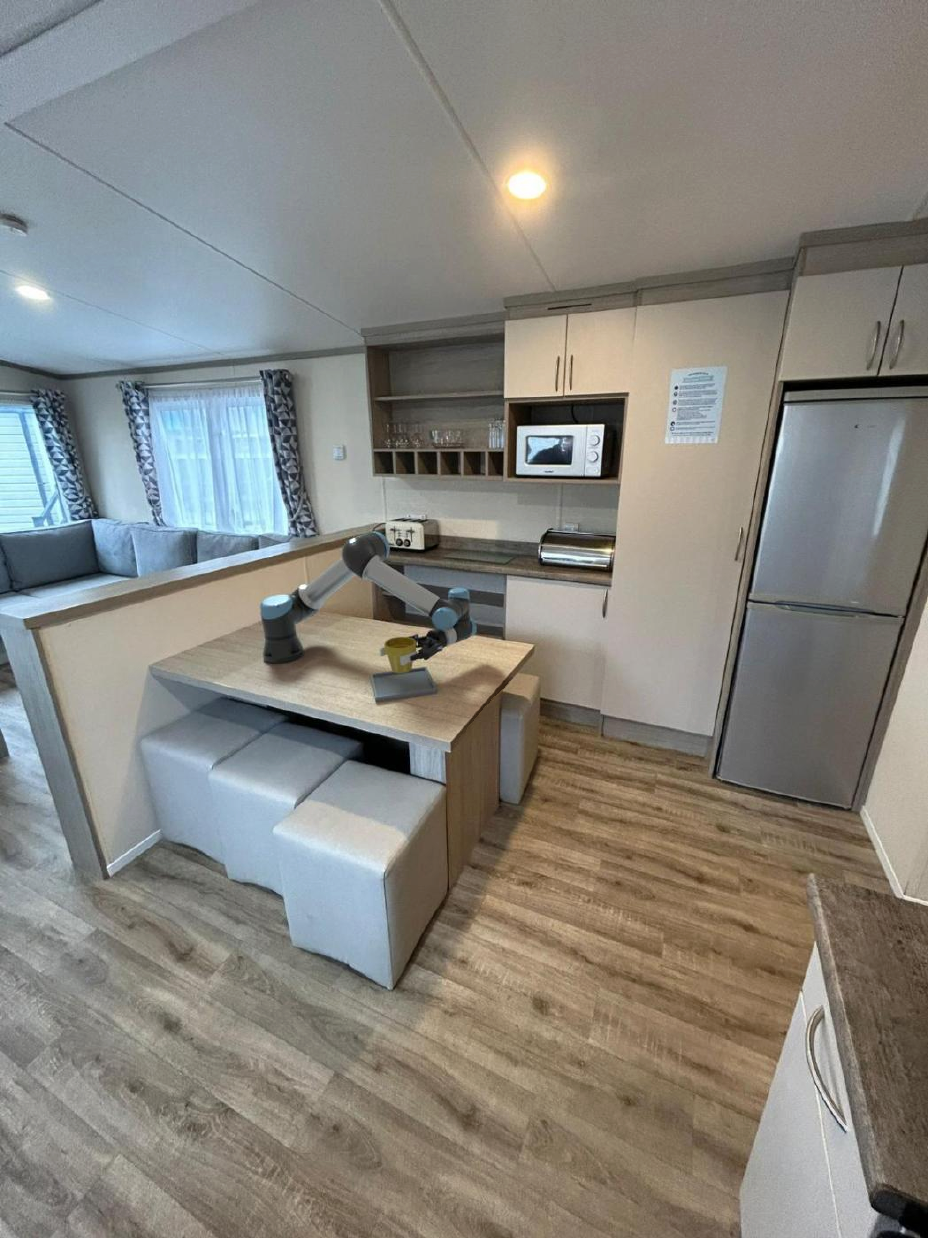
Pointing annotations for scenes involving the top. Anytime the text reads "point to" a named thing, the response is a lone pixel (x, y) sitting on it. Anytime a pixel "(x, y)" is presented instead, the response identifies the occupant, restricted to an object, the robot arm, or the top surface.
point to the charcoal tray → (402, 684)
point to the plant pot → (399, 652)
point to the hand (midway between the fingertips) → (390, 656)
